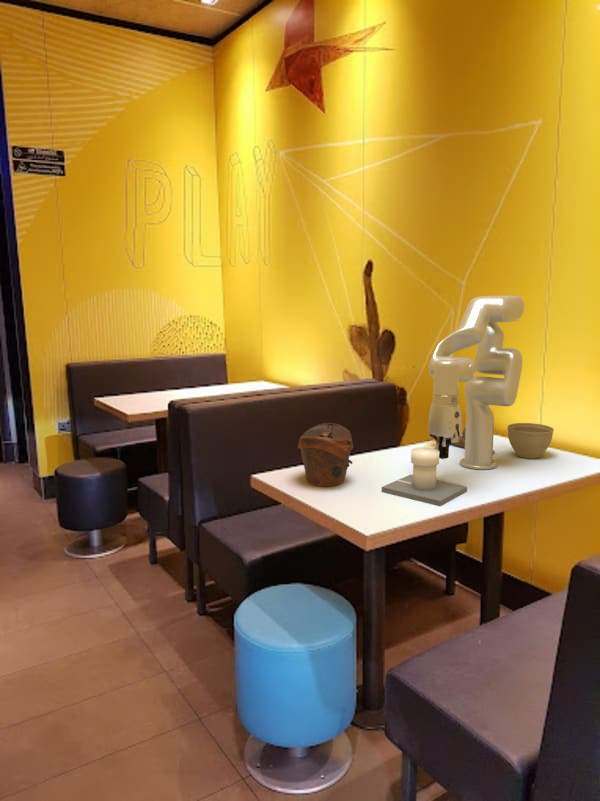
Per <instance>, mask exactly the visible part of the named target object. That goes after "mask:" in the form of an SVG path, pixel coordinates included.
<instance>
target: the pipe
mask: <svg viewBox="0 0 600 801" xmlns="http://www.w3.org/2000/svg"><path fill="white" fill-rule="evenodd" d="M465 432H466V424H465V425H464V428H463V429H462V435H461V436H460V437H458V439H459V441H458V442H455V443H452V444H451V445H455V446H459V447H461V448H464V449H465ZM447 440H448V439H447Z"/></svg>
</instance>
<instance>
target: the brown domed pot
mask: <svg viewBox="0 0 600 801" xmlns="http://www.w3.org/2000/svg"><path fill="white" fill-rule="evenodd" d="M297 449H300V453H301V458H302V463H303V468H304V472H305V480H306V482H307V483H309V484H310V485H312V486H316V487H332V486H333V487H335V486H339V485H341V484H343V483H344V482H345V479H346V476H347V470H348V468H349V467H350V465H353V461H352V460H350V455H351V451H352V450H353V449H354V444H353V438H352V434H351V432H350V430H349V429H348V428H346V427H345V426H343V425H342V424H338V423H336V422H335V423H334V422H325V423H324V422H323V423H319V424H317V425H315V426H313V427H311V428H309V429H308V430H306V431H305V432H304V433H303V434H302V435H301V436H300V437H299V439H298V444H297Z"/></svg>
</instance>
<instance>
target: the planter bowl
mask: <svg viewBox="0 0 600 801" xmlns="http://www.w3.org/2000/svg"><path fill="white" fill-rule="evenodd" d="M506 427H507V438H508V441H509V444H510V446H511V447H512V449H513V451H514V454H515V455H516V456H517V457H520V458H524V459H540V458H542V457H543V456H544V453H545V452H546V451H547V450H548V448H549V447H550V445H551V442H552V440H553V434H554V431H555V429H554V428H553V427H551V426H550V425H546V424H541V423H540V424H539V423H534V422H533V423H532V422H531V423H530V422H516V423H511V424H508V425H507V426H506Z"/></svg>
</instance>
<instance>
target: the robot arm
mask: <svg viewBox="0 0 600 801" xmlns="http://www.w3.org/2000/svg"><path fill="white" fill-rule="evenodd" d="M524 311H525V302H524V300H523V298H522V297H521V296H519V295H482V296H476V297H473V298H472V299H471V300H470V301H469V302H468V303H467V306H466V309H465V310H464V313H463V316H462V317H461V321H460V322H459V326H458V328H457V329H456V330H455V331H453V332H451V333H450V334H448V335H447V336H446V337H445V338H443V339H442V340H441V341H440V342H439V343H438V344H437V345H436V347H435V348H434V351H433V353H432V355H431V358H430V361H429V365H428V373H429V376H430V377H431V378H432V379H433V380H432V402H431V405H430V408H429V414H428V432H429V437H430V438H432V439H433V440H435V441H436V444H437V445H438V450H439V460H440V459H441V460H445V459H449V456H450V454H449V453H450V446H451V445H453V444H452V443H455V442H458V441H459V439H458V437H460V436H462V434H463V419H462V410H461V406H460V404H459V403H460V402H461V399H460V398H459V382H464V387H463V388H464V391H463V392H464V399H465V409H466V410H465V425H466V432H465V448H464V456H463V458H460V460H459V465H461V467H464V468H466V469H467V468H468V469H473V470H492V469H495V468H496V467H498V466H497V465H498V464H497V462H496V461H495V460H494V459H493V456H494V455H496V451H495V450H494V434H495V431H494V430H495V416H494V413H493V410H492V409H491V407H490V406H496V407H511V406H513V405H514V404H515V402H516V400H517V397H518V391H519V388H520V387H519V386H520V382H521V381H520V380H521V376H522V375H521V374H522V369H523V356H522V353H521V351H520V350H519V349H517V348H513V347H504V342H505V341H504V340H505V334H504V331H503V329H502V327H500V325H499V324H498V323H511V322H516V321H519V320H520V319H521V318H522V316H523V314H524ZM476 345H477V346H476ZM474 346H476V351H475V355H474V361H473V360H472V359H471V358H468V357H463V356H462V357H459V356H457V357H456V356H451V355H452V354H454V353H456V352H459V351H461V350H464V349H468V348H471V347H474ZM476 372H477V373H479V374H482V375H483V374H484V375H493V376H494V375H495V376H504V377H491V376H475V375H476ZM447 439H448V440H447Z"/></svg>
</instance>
